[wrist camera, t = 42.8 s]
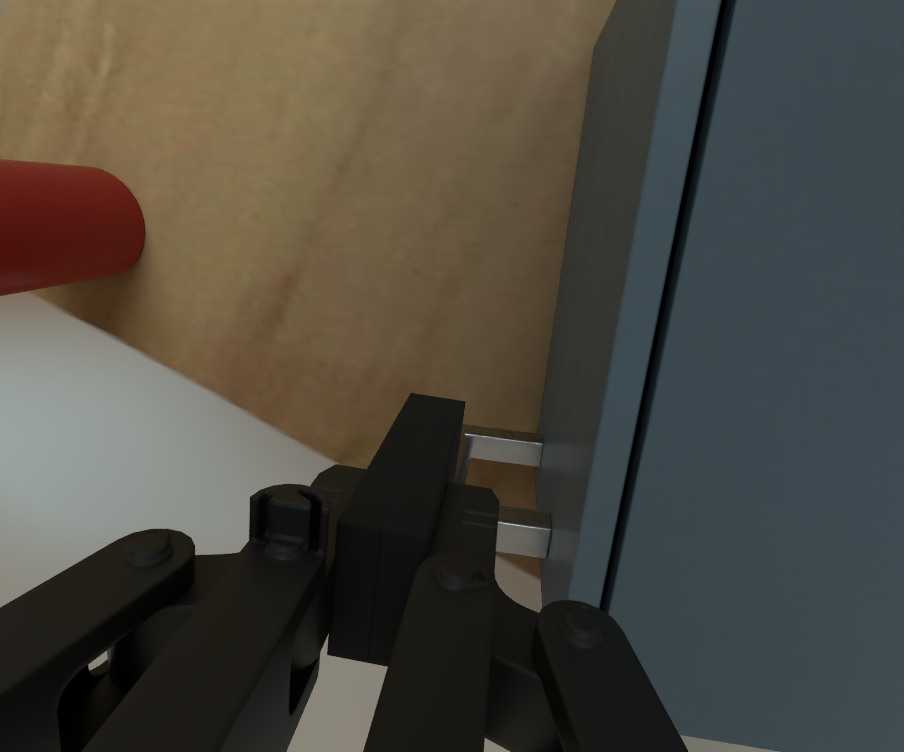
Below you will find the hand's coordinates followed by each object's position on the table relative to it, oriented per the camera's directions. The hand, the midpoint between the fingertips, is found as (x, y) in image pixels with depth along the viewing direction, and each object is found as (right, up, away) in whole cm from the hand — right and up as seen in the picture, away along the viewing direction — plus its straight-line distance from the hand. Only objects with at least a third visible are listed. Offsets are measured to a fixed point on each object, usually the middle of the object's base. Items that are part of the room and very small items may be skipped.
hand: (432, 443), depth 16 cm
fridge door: (+5, +8, +18) cm, 20 cm away
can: (-22, +11, +20) cm, 32 cm away
